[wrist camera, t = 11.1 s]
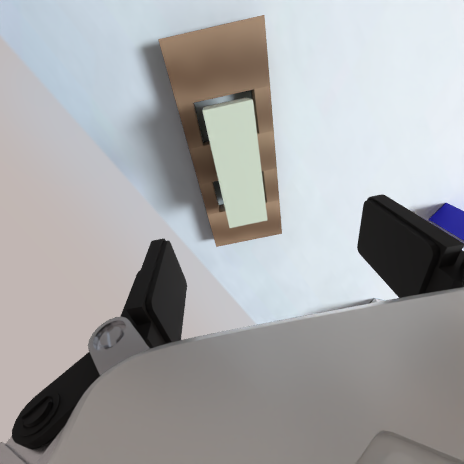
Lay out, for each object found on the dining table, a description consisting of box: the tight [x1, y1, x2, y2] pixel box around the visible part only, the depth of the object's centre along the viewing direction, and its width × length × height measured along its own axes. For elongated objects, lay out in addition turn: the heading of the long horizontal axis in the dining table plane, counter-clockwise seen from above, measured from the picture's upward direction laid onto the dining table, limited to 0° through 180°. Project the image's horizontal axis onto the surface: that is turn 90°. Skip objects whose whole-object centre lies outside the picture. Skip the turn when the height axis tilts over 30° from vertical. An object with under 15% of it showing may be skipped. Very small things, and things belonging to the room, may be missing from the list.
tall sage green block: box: [203, 98, 267, 228], centre depth 24 cm, size 11×4×7 cm, turn 11°
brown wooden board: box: [158, 15, 282, 247], centre depth 26 cm, size 22×9×2 cm, turn 11°
